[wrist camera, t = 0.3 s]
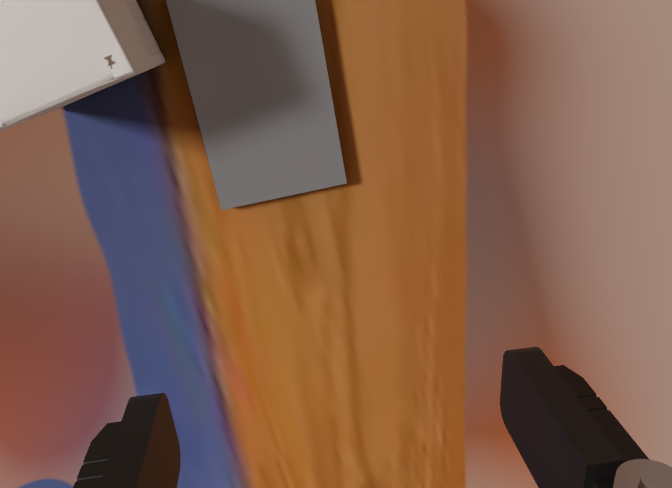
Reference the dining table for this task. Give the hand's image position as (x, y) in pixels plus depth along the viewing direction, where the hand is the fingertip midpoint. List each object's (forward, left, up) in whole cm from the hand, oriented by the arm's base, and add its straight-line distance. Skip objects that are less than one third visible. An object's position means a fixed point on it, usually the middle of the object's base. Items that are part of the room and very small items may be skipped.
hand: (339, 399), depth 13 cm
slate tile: (-5, 0, -28) cm, 28 cm away
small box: (-10, -10, -28) cm, 32 cm away
